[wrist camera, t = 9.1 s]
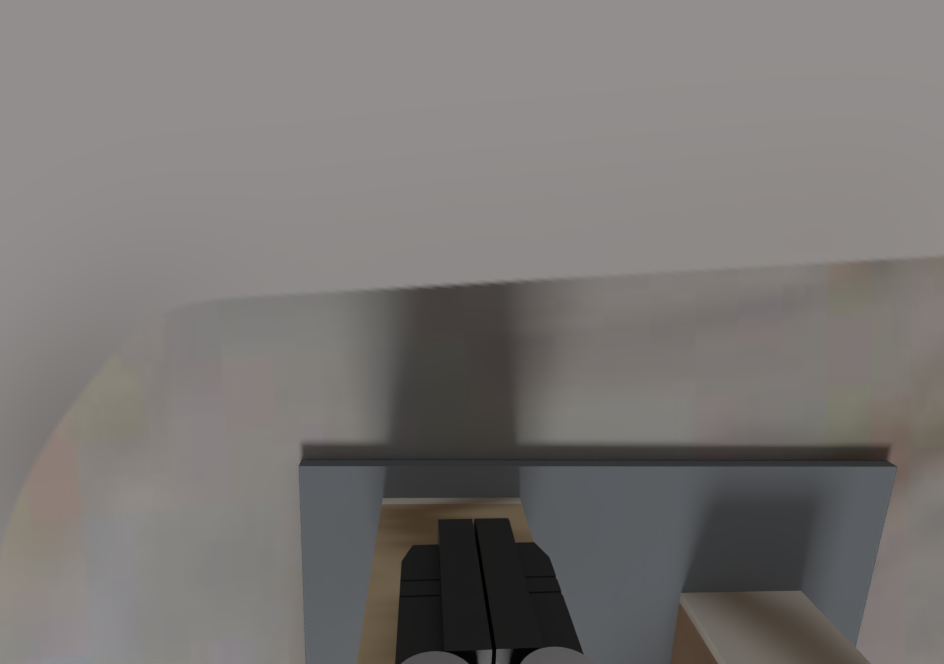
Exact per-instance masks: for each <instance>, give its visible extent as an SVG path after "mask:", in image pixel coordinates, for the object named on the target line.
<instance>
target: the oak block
mask: <svg viewBox="0 0 944 664" xmlns="http://www.w3.org/2000/svg"><path fill="white" fill-rule="evenodd" d="M475 518H509V521H510V524H511V528H512V532H513V535H514V539H515V543H516V542H533V539H532V535H531V532H530V529H529V526H528V522H527V519H526V516H525V513H524V509H523V506H522V503H521V499H520V498H383V499H382V506H381V512H380V518H379V525H378V531H377V537H376V544H375V550H374V556H373V563H372V569H371V575H370V582H369V588H368V594H367V601H366V607H365V613H364V620H363V626H362V632H361V639H360V645H359V652H358V658H357V664H395V657H396V641H397V625H398V609H399V593H400V577H401V561H402V560H403V558H404V557H405V555H406V554H407V552H408V551H409V550H410V548H411V547H412V545H429V544H437V529H438V519H472V521H473V523H474V519H475Z"/></svg>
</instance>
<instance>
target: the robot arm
mask: <svg viewBox="0 0 944 664" xmlns="http://www.w3.org/2000/svg"><path fill="white" fill-rule="evenodd" d="M395 664H596V663H595V662H593V661H592V660H591V659H590V658H588V657H587V656H585V655H584V653H583V651H582V648H581V645H580V642H579V639H578V636H577V634H576V631H575V628H574V625H573V622H572V619H571V617H570V614H569V611H568V608H567V605H566V602H565V600H564V597H563V595H562V593H561V588H560V585H559V583H558V580H557V579H556V574H555V571H554V568H553V566H552V563H551V560H550V557H549V556H548V555H547V554H546V553H545V552H544V551H543V550H542V549H541V548H540V547H539V546H538V545H537V544H536V543H535V542H516V543H515V539H514V535H513V532H512V528H511V524H510V521H509V518H475V519H474V523H473V521H472V519H438V529H437V544H429V545H412V547H411V548H410V550H409V551H408V552H407V554H406V555H405V557H404V558H403V560H402V561H401V577H400V593H399V609H398V625H397V641H396V657H395Z"/></svg>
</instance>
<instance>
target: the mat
mask: <svg viewBox="0 0 944 664" xmlns="http://www.w3.org/2000/svg"><path fill="white" fill-rule="evenodd" d="M896 471H897V466H895V465H893V464H892V463H890V462H888V461H715V460H302V461H301V463H300V465H299V485H300V514H301V542H302V571H303V599H304V628H305V656H306V664H357V658H358V652H359V645H360V639H361V632H362V626H363V620H364V613H365V607H366V601H367V594H368V588H369V582H370V575H371V569H372V563H373V556H374V550H375V544H376V537H377V531H378V525H379V518H380V512H381V506H382V499H383V498H520V499H521V503H522V506H523V509H524V513H525V516H526V519H527V522H528V526H529V529H530V532H531V535H532V539H533V542H535V543H536V544H537V545H538V546H539V547H540V548H541V549H542V550H543V551H544V552H545V553H546V554H547V555H548V556H549V557H550V560H551V563H552V566H553V568H554V571H555V574H556V579H557V580H558V583H559V585H560V588H561V593H562V595H563V597H564V600H565V602H566V605H567V608H568V611H569V614H570V617H571V619H572V622H573V625H574V628H575V631H576V634H577V636H578V639H579V642H580V645H581V648H582V651H583V653H584V655H585V656H587V657H588V658H590V659H591V660H592V661H593V662H595V663H596V664H671V658H672V651H673V644H674V637H675V630H676V623H677V616H678V609H679V602H680V595H681V593H700V592H754V591H802V592H803V593H804V594H805V596H806V597H807V598H808V599H809V600H810V601H811V602H812V603H813V604H814V605H815V606H816V607H817V608H818V609H819V610H820V611H821V612H822V613H823V614H824V615H825V616H826V618H827V619H828V620H829V621H830V622H831V623H832V624H833V625H834V626H835V627H836V628H837V629H838V630H839V631H840V632H841V633H842V634H843V635H844V636H845V637H846V638H847V640H848V641H849V642H850V643H851V644H852V645H853V646H854V647H856V643H857V638H858V634H859V630H860V625H861V621H862V617H863V612H864V608H865V604H866V600H867V595H868V591H869V587H870V582H871V578H872V574H873V569H874V565H875V561H876V557H877V552H878V548H879V544H880V539H881V535H882V531H883V526H884V522H885V518H886V514H887V509H888V505H889V501H890V496H891V492H892V488H893V483H894V479H895V475H896Z"/></svg>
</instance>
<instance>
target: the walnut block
mask: <svg viewBox="0 0 944 664" xmlns="http://www.w3.org/2000/svg"><path fill="white" fill-rule="evenodd" d="M671 664H870V663H869V662H868V660H867V659H866V658H865V657H864V656H863V655H862V654H861V653H860V652H859V651H858V650H857V649H856V648H855V647H854V646H853V645H852V644H851V643H850V642H849V641H848V640H847V638H846V637H845V636H844V635H843V634H842V633H841V632H840V631H839V630H838V629H837V628H836V627H835V626H834V625H833V624H832V623H831V622H830V621H829V620H828V619H827V618H826V616H825V615H824V614H823V613H822V612H821V611H820V610H819V609H818V608H817V607H816V606H815V605H814V604H813V603H812V602H811V601H810V600H809V599H808V598H807V597H806V596H805V594H804V593H803V592H802V591H754V592H700V593H681V595H680V602H679V609H678V616H677V623H676V630H675V637H674V644H673V651H672V658H671Z"/></svg>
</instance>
